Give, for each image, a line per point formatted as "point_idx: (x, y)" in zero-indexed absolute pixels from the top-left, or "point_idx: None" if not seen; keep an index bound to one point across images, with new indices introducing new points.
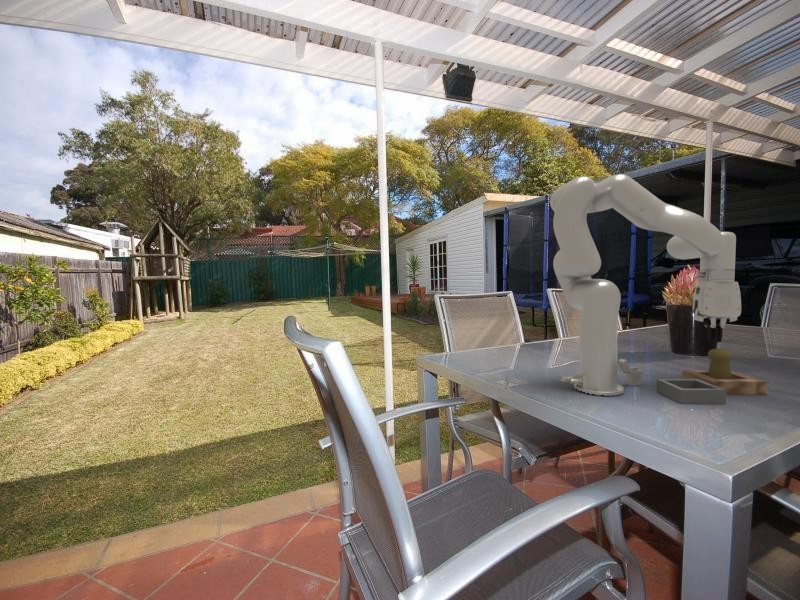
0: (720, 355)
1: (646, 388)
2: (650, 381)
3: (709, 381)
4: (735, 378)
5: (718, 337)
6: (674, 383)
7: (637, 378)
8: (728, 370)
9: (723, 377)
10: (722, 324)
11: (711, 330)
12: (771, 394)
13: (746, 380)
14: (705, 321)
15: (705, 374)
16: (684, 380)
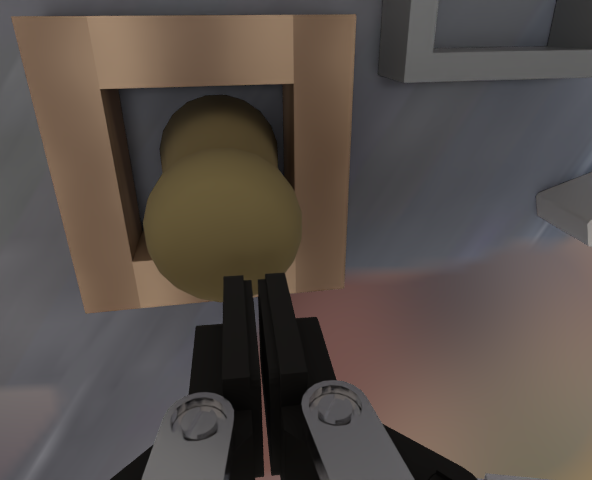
0: (262, 165)
1: (562, 131)
2: (461, 255)
3: (352, 54)
4: (122, 186)
5: (253, 301)
6: (533, 49)
7: (587, 194)
8: (199, 136)
9: (234, 119)
10: (199, 444)
11: (326, 375)
12: (11, 26)
13: (133, 48)
14: (459, 470)
15: None
16: (492, 51)
